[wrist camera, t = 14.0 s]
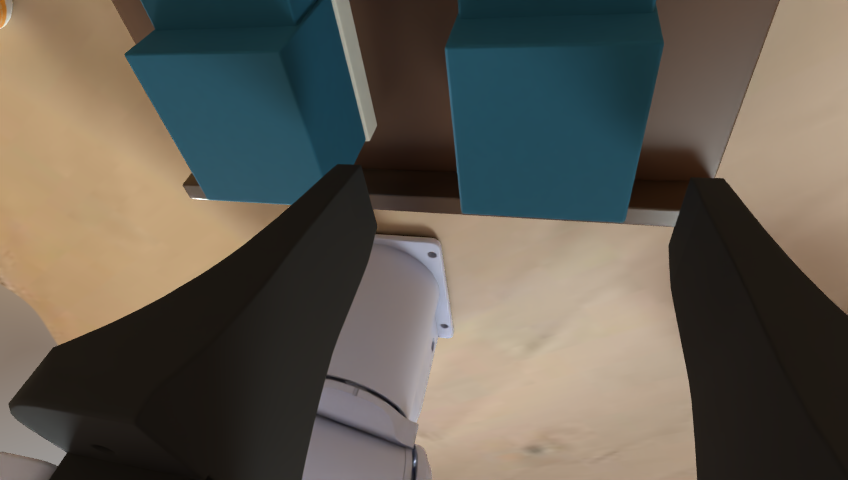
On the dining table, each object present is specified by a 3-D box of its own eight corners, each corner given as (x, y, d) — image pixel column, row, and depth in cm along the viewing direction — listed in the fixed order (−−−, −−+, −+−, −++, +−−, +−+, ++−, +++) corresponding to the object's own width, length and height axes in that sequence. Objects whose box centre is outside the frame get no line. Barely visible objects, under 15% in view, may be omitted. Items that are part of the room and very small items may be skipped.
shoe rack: (823, -305, 12) (926, -296, 8) (692, 132, 20) (714, 229, 17) (109, -192, 16) (-25, -155, 13) (247, 124, 25) (190, 199, 21)
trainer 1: (377, 125, 18) (337, 210, 15) (263, 123, 20) (206, 202, 17) (317, -145, 13) (234, -91, 10) (161, -126, 14) (44, -73, 11)
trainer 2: (621, 128, 16) (628, 227, 14) (479, 126, 18) (457, 217, 15) (678, -190, 11) (712, -139, 8) (463, -164, 12) (421, -111, 9)
